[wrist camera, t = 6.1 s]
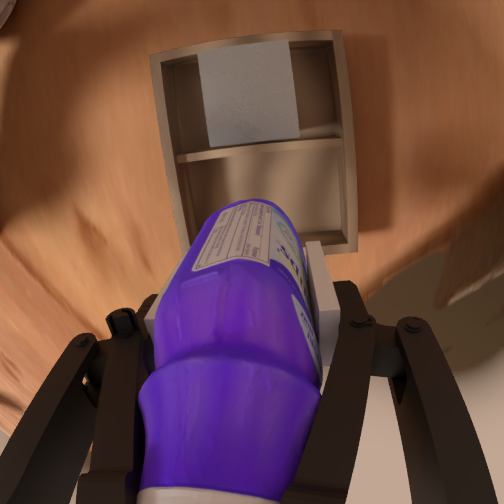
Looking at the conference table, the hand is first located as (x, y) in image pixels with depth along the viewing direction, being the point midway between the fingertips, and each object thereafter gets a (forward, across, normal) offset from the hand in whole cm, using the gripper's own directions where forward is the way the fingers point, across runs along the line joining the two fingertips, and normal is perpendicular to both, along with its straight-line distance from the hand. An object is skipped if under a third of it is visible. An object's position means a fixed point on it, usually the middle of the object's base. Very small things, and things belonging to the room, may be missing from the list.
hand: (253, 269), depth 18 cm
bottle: (+3, 0, 0) cm, 3 cm away
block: (+18, 0, +10) cm, 21 cm away
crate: (+19, 0, +5) cm, 20 cm away
